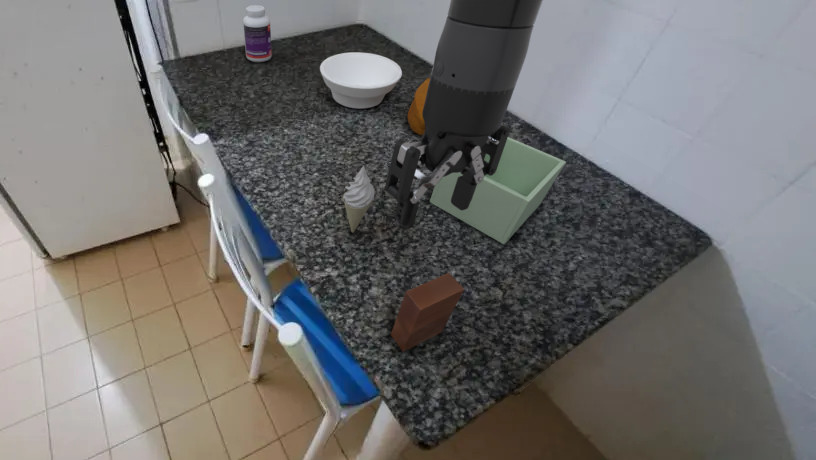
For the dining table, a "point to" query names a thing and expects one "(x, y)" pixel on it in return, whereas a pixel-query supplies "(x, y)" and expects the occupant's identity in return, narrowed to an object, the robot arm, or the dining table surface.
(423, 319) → the chocolate bar
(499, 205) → the trash bin
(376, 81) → the bowl
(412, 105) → the bread
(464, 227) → the dining table surface
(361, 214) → the ice cream cone
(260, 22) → the pill bottle
